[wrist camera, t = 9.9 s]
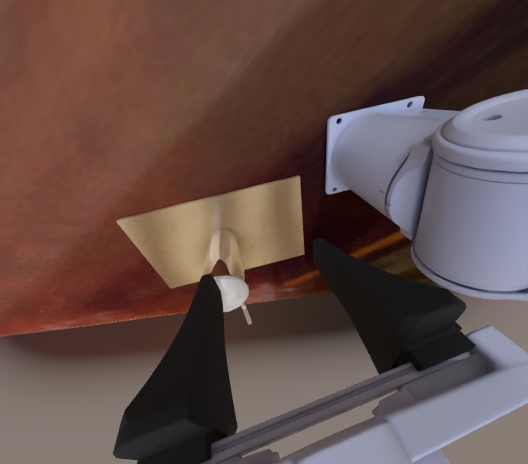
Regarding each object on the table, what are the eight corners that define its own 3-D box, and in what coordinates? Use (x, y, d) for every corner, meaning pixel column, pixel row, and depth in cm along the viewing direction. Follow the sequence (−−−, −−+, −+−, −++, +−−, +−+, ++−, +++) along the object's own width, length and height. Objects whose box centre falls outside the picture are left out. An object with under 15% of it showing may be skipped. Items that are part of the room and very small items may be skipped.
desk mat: (298, 175, 20) (300, 176, 20) (303, 252, 28) (304, 254, 27) (117, 218, 20) (115, 221, 19) (171, 285, 27) (170, 288, 27)
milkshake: (230, 260, 26) (233, 335, 18) (196, 241, 23) (182, 320, 15) (253, 240, 24) (268, 311, 16) (221, 217, 21) (219, 290, 13)
